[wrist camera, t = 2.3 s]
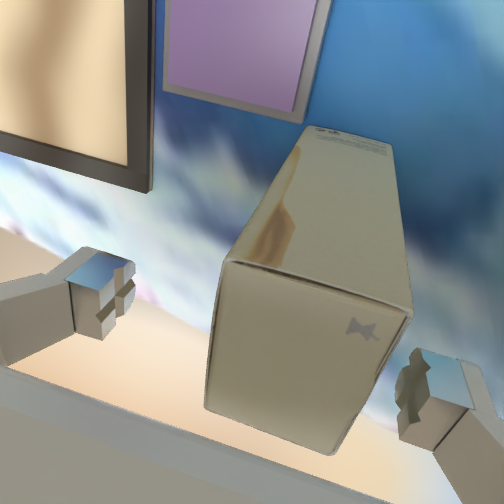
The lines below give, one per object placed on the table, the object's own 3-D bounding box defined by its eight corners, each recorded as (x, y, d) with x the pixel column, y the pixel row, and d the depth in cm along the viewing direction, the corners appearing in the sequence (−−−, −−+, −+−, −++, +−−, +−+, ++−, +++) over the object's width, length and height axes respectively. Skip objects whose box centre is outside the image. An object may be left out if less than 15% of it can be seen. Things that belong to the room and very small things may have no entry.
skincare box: (305, 121, 18) (219, 240, 8) (395, 143, 17) (427, 302, 7) (278, 233, 21) (195, 415, 11) (352, 254, 21) (334, 466, 11)
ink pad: (349, -67, 14) (347, -77, 13) (304, 120, 18) (299, 126, 17) (180, -96, 15) (162, -108, 14) (171, 87, 19) (157, 91, 18)
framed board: (156, -68, 16) (148, -72, 15) (152, 189, 22) (146, 193, 22) (-77, -111, 17) (-92, -116, 17) (-17, 141, 24) (-27, 143, 23)
